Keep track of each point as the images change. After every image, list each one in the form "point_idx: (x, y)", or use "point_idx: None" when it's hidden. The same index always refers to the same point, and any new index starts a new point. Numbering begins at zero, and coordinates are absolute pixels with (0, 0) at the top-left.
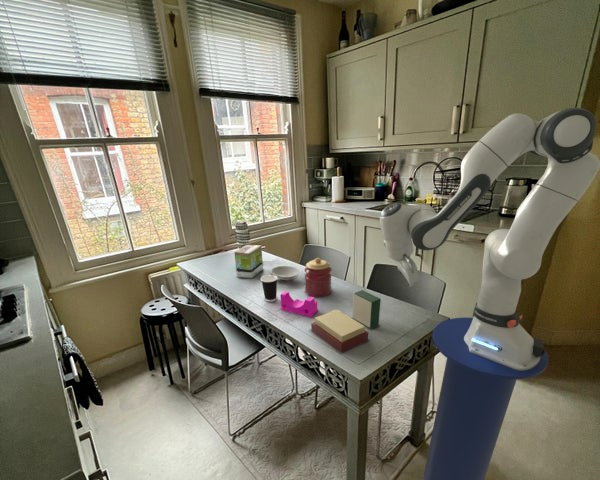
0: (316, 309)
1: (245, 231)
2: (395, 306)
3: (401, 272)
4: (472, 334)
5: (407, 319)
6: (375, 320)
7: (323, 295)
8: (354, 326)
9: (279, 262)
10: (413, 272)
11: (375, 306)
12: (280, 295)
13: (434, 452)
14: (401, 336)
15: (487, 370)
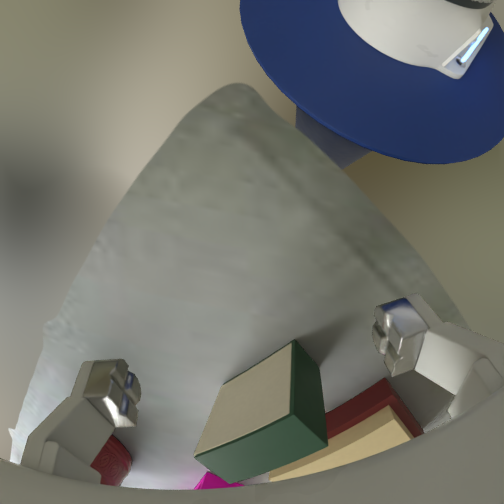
0: (211, 479)
1: None
2: (139, 245)
3: (134, 385)
4: (452, 46)
5: (242, 216)
6: (307, 367)
7: (122, 447)
8: (387, 443)
9: (20, 454)
10: (481, 410)
11: (314, 412)
12: None
13: (347, 163)
14: (372, 268)
15: None
